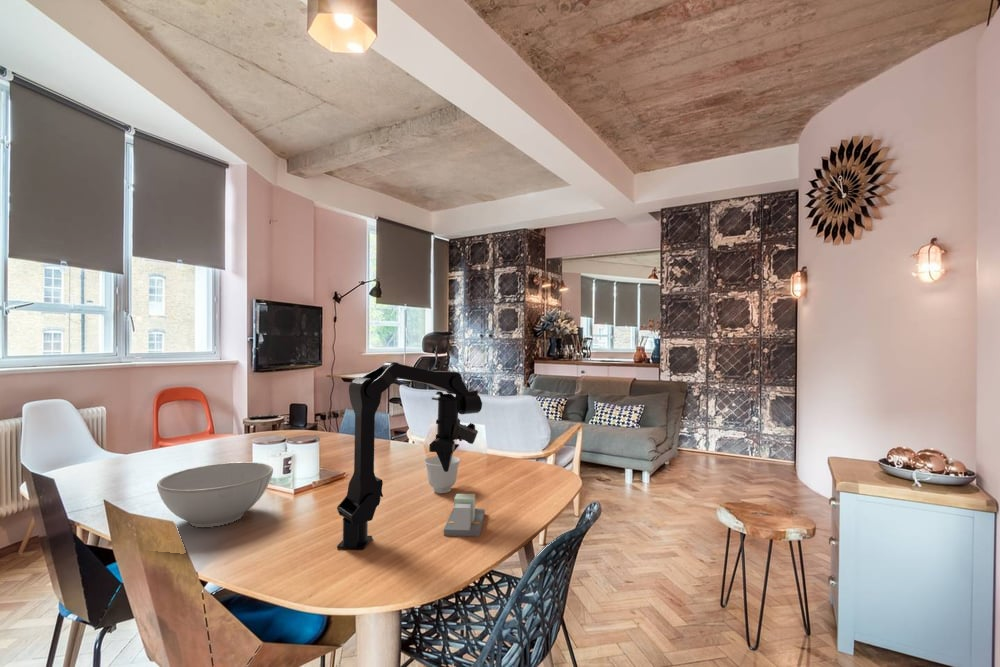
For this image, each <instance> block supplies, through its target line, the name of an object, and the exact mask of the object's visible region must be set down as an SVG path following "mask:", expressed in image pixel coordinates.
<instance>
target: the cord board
mask: <svg viewBox="0 0 1000 667" xmlns="http://www.w3.org/2000/svg"><path fill="white" fill-rule="evenodd" d="M485 509H486V508H476V507H475V518H474V522H473V523H471V504H455V506H454V505H453V508H452V510H451V513H450V514H449V517H448V518H447V521H446V525H445V527H444V529H443V536H444V537H445V536H447V537H448V536H449V537H476V538H477V537H480V535H481V531H482V527H483V523H484V518H485V514H486V510H485Z"/></svg>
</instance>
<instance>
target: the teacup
mask: <svg viewBox="0 0 1000 667" xmlns="http://www.w3.org/2000/svg"><path fill="white" fill-rule="evenodd" d="M461 461H462V460H461V458H459V457H457V456H455V455H452V459H451V463H450V467H449V471H448V472H445V471H444V470H443V467H442V465H441V462H440V460H439V457H438V455H435V456H430V457H427V458H426V459H424V461H423V462H424V464H425V465H426V466H425V467H426V473H427V480H428V484H429V485H430V486H431V487H432V488H433V492H434V493H437V494H446V493H449V492H451V491H452V488H451V487H453V486H454V485H455V484H456V482H457V477H458V470H459V464H460V462H461Z"/></svg>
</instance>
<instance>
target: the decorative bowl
mask: <svg viewBox="0 0 1000 667" xmlns="http://www.w3.org/2000/svg"><path fill="white" fill-rule="evenodd" d="M273 474H274V468H273V467H272V466H271V465H269V464H267V463H263V462H253V461H234V462H223V463H214V464H213V463H212V464H207V465H202V466H195V467H192V468H187V469H183V470H179V471H177V472H173V473H171V474H168V475H166V476H164V477H162V478H160V479H159V480H158V481H157V483H156V488H157V491H158V494H159V496H160V498H161V500H162V502H163V504H164V505H165V506H166V507H167V509H168V510H169V511H170V512H171V513H172V514H174V515H175V516H176V517H178V518H180V519H181V520H184V521H187V522H189V524H191V525H192V526H191V525H190V526H191V527H193V526H196V527H195V528H197V527H211V528H214V527H213V526H218V527H221V526H220V525H222V526H225V525H224V524H226V525H229V524H228V523H230V524H232V523H235V522H237V521H239V520H240V519H241V517H242V516H244V514H245V512H247V511H248V510H250V509H251V508H252V507H254V505H255V504H256V503H257V502H258V501H259V500H260V499H261V497H262V496H263V495H264V493H265V491H266V490H267V488H268V487H269V484H270V482H271V479H272V476H273ZM242 518H243V517H242ZM238 519H239V520H238ZM236 520H237V521H236ZM234 521H235V522H234ZM231 522H232V523H231Z"/></svg>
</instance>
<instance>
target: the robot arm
mask: <svg viewBox="0 0 1000 667" xmlns="http://www.w3.org/2000/svg"><path fill="white" fill-rule="evenodd" d="M397 379H400V380H404V381H411V382H416V383H422V384H426V385H427V386H430V387H432V388H434V389H436V390H439V391H436V393H435V394H434V395H433V396H431V400H433V401H437V403H438V404H437V419H436V420H435V421H436V422H435V424H436V425H437V433H436V434H435V439H433V441H432V442H431V443H430V444H429V448H428V449H429V452H430V453H436V456H438V457H439V460H440V462H441V465H442V467H443V470H444V471H445V472H448V471H449V467H450V463H451V459H452V456H454V455H453V454H454V452H455V451H456V450H457V449H458V448H459V447H460V444H459V443H458V444H456V443H455V442H456V441H457V440H458V441H459V442H462V441H465V442H467V443H468V444H471V445H473V444H474V443H475V440H476V438H477V436H478V433H479V431H478V430H477V429H476V425H475V424H474V423H471V422H470V423H468V424H467V425H466V424H461V419H460V418H459V414H460V415H469V414H478V413H480V412H481V410H482V407H483V401H482V398H481V397H480V395H479V394H478V393H479V391H478V390H474V389H472V390H471V389H470V390H469V389H468V388H467V387H466V384H465V383H464V381H463V377H462V374H461V373H460V372H458V371H448V370H447V371H446V370H429V369H423V368H421V367H420V368H419V367H415V366H412V365H411V366H410V365H404V364H402V363H399V362H393V361H386V362H384V363H383V364H382V365H381V366H379V367H378V368H376V369H373V370H372V371H370V372H367V373H366V374H364V375H363V376H362V377H360V376H359V377H356V378H355V379H353V380H352V381H350V383H349V386H348V394H349V401H350V404H351V407H352V409H353V413H354V456H353V457H354V458H353V467H354V468H353V474H352V476H351V478H350V480H349V482H348V489H347V493H346V496H345V497H344V498H343V499H342V500H341V502H340V503H339V504H338V506H337V507H336V511H337V513H338V514H339V516H341V517H342V540H341V541H340V542H339V543H338V544H337V545H336V549H337V550H338V549H341V550H342V549H344V550H364V549H365V548H366V547H367V546H368V544H369V543H370V542H371V541H372V539H373V535H368V533H369V532H368V530H369V529H368V527H369V523H368V522H370V521H372V520H374V515H375V513H376V510H377V507H379V505H380V503H381V498H383V497H384V495H383V491H382V490H383V485H384V484H383V479H381V478H379V477H377V476H376V475H375V436H376V435H375V431H376V430H375V428H376V414H377V411H378V408H379V407H380V404H381V400H382V394H383V393H384V392H385V391H386V390H387V389H389V388H390V387H391V385H392V384H393V382H395V380H397ZM443 392H446V393H443ZM454 395H455V396H454Z"/></svg>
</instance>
